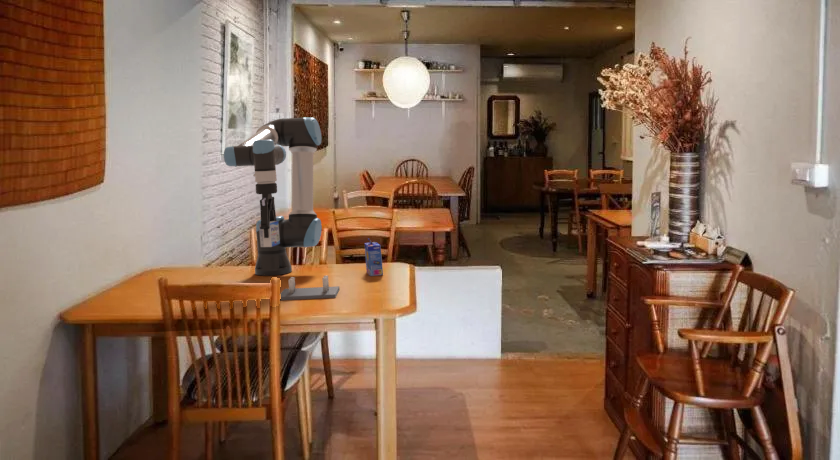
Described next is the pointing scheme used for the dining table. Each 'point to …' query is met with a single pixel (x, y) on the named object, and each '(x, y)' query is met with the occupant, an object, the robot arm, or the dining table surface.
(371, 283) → the dining table surface
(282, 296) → the cradle
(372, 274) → the ink cartridge box
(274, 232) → the medicine box
